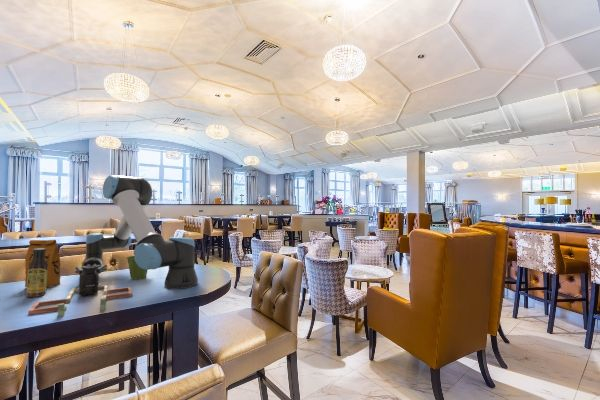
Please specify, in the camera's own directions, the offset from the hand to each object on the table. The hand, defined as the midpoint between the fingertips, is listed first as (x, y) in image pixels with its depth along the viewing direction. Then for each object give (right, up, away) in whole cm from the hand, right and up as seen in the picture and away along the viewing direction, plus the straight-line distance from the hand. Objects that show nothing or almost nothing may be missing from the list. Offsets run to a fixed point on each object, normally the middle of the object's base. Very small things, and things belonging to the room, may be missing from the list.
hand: (88, 275), depth 130 cm
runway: (+7, -7, -11) cm, 15 cm away
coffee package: (-28, -8, +9) cm, 31 cm away
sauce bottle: (-18, -7, -5) cm, 20 cm away
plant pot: (+9, -8, +25) cm, 28 cm away
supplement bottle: (+2, -8, -3) cm, 9 cm away
